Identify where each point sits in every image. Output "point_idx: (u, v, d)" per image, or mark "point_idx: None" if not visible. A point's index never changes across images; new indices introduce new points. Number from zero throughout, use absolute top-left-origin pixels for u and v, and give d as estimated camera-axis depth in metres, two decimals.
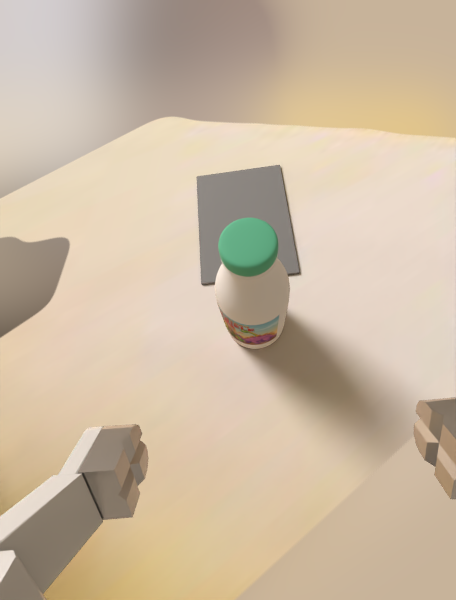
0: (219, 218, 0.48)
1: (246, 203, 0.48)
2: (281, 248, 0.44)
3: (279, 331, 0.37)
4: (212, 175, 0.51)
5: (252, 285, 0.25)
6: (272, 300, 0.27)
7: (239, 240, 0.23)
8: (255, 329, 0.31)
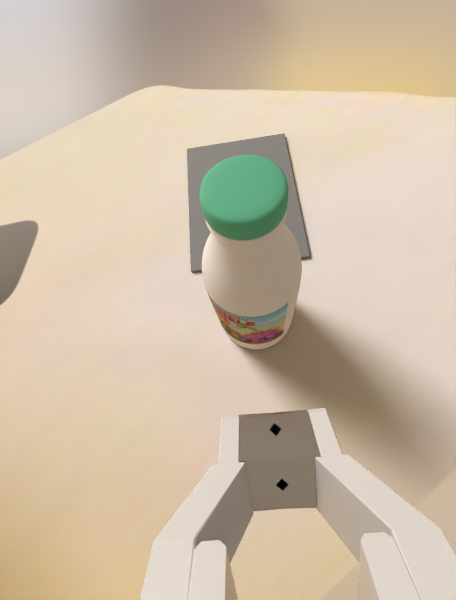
0: None
1: None
2: None
3: (287, 327, 0.29)
4: (205, 147, 0.44)
5: (250, 256, 0.18)
6: (279, 280, 0.20)
7: (230, 185, 0.15)
8: (256, 322, 0.23)
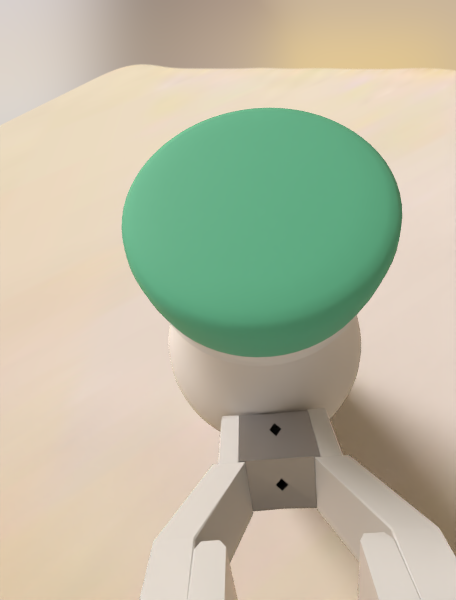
0: None
1: None
2: None
3: None
4: None
5: (270, 371, 0.07)
6: (327, 398, 0.09)
7: (214, 193, 0.05)
8: None
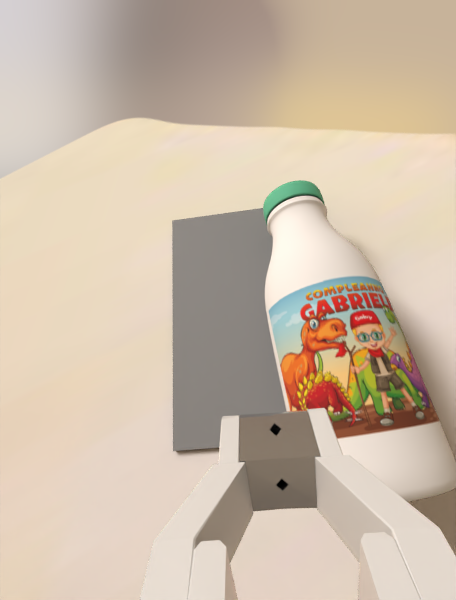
0: (211, 304, 0.26)
1: (261, 274, 0.26)
2: None
3: None
4: (200, 218, 0.29)
5: None
6: None
7: None
8: (390, 303, 0.18)
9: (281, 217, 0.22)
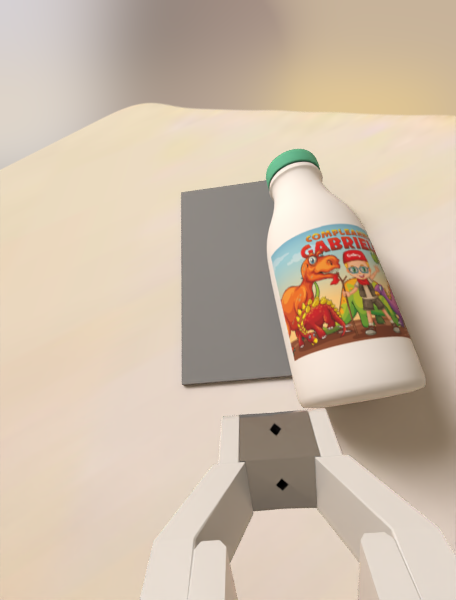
0: (215, 263, 0.29)
1: (260, 237, 0.29)
2: None
3: None
4: (206, 190, 0.32)
5: None
6: None
7: None
8: (374, 251, 0.21)
9: (283, 179, 0.25)
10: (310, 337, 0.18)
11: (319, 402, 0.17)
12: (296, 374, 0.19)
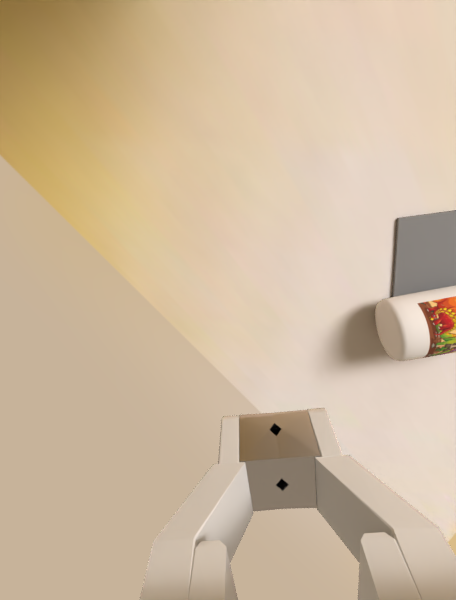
0: None
1: None
2: None
3: None
4: None
5: None
6: None
7: None
8: None
9: None
10: (433, 316, 0.33)
11: (396, 316, 0.34)
12: (408, 303, 0.35)
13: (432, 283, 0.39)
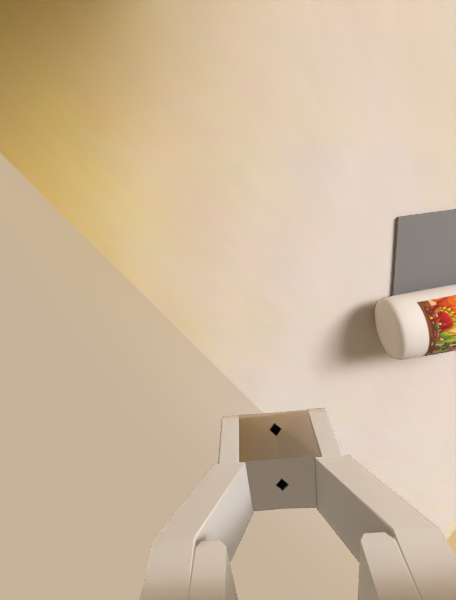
0: None
1: None
2: None
3: None
4: None
5: None
6: None
7: None
8: None
9: None
10: (433, 314, 0.33)
11: (395, 315, 0.34)
12: (408, 302, 0.35)
13: (432, 282, 0.39)
